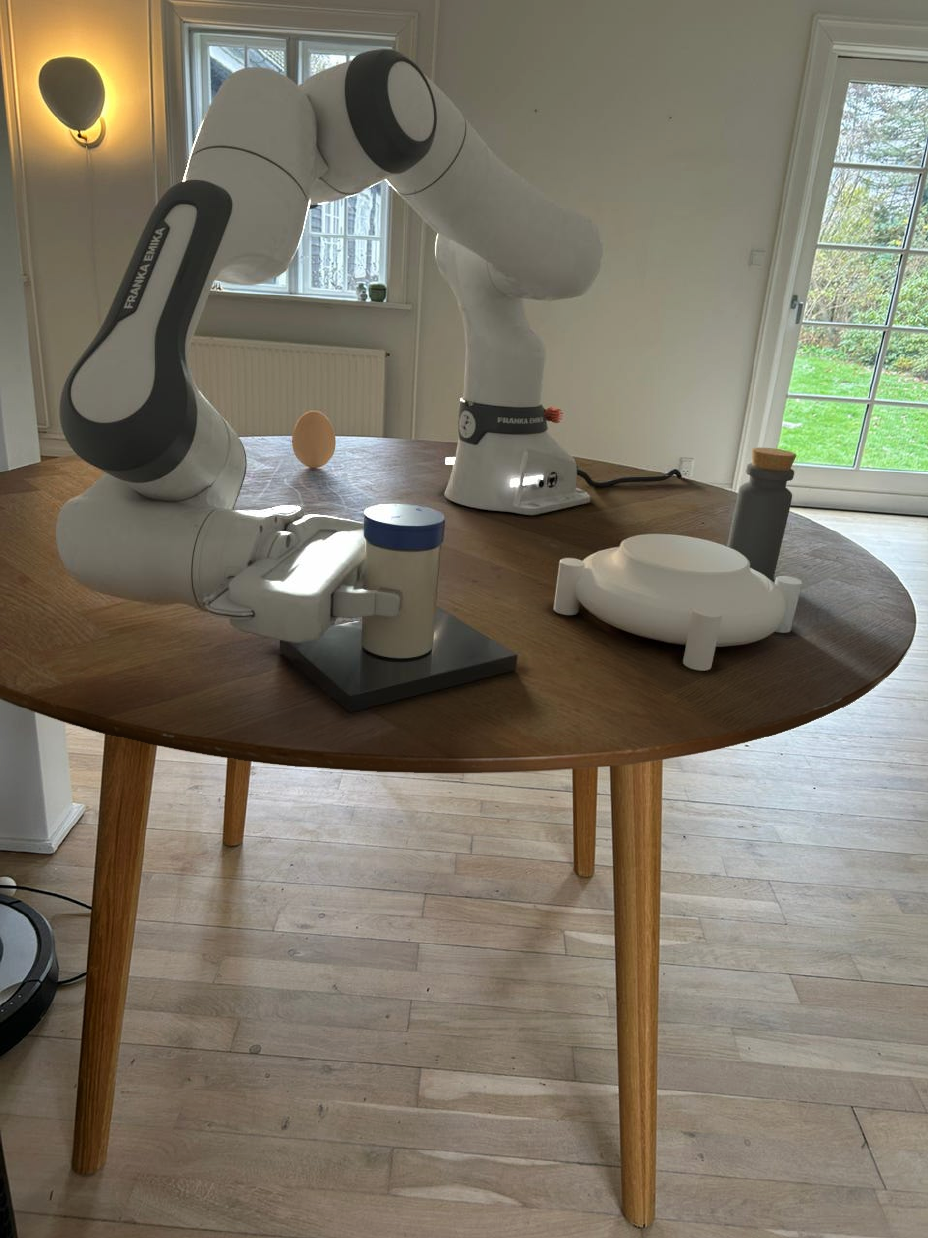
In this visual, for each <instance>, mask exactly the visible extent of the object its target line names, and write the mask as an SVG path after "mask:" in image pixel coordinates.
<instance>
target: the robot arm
mask: <svg viewBox="0 0 928 1238" xmlns="http://www.w3.org/2000/svg"><path fill="white" fill-rule="evenodd" d="M383 181H386V182H387V183H388V185H389V186H391V187H392V189H393V190H394V191H395V192H396V193H397V194H398V195H399V196H400V197H401V198H402V199H403V200H404V201H405V203H407V204H408V205H409V206H410V207H411V208H412V209H413V211H414V212H416V214H417V215H418V216H419V217H420V218H421V219H422V220H423V221H424V222H425V223H426V224H427V225H428V227H430V228H431V229H432V230H433V231H434V232H435V233H437V235H436V238H435V245H434V257H435V263H436V267H437V269H438V271H439V273H440V275H441V276H442V278H443V279H444V280H445V281H446V282H447V283H448V285H449V287H450V289H451V290H452V292H453V294H454V296H455V299H456V302H457V305H458V308H459V312H460V316H461V320H462V325H463V330H464V340H465V359H464V360H465V361H464V377H463V394H462V397H461V398H460V399H459V405H458V414H457V415H458V416H457V431H458V432H457V433H458V438H457V439H458V440H457V445H456V452H455V456H452V457H451V456H449V457H445V465H452V469H451V473H450V476H449V479H448V483H447V485H446V488H445V491H444V493H443V494H444V495H443V496H444V497H445V498H446V499H447V500H449V501H451V502H453V503H456V504H458V505H462V506H465V507H469V508H474V509H479V510H484V511H485V510H487V511H493V512H495V511H496V512H497V511H498V512H507V513H514V514H519V515H525V516H536V515H540V514H546V513H549V512H553V511H558V510H562V509H567V508H571V507H577V506H580V505H585V504H589V503H591V495H590V494H589V493H588V492H587V491H585V490H583V489H581V488H579V487H577V484H578V483H577V482H578V479H577V478H578V476H579V477H581V478H583V479H584V481H585V483H586V484H587V485H588V486H590V487H593V488H597V489H599V488H605V487H611V486H614V485H618V484H625V483H648V482H649V483H651V482H652V483H653V482H662V481H665V480H668V479H670V478H671V477H673V476H674V475H675V477H676V478H679V479H683V476H682V473H681V471H679V469H676V468H673V469H671V470H669V471H668V472H666V473H665V474H662V475H661V474H660V475H649V476H647V475H646V476H645V475H644V476H643V475H641V476H640V475H639V476H623V477H621V476H620V477H617V478H614V479H610V480H606V481H594V480H593V479H592V478H591V477H590V475H589V474H588V473H587V472H585V471H583V470H581V469H579V466H578V465H577V463H576V460H575V458H574V457H573V456H572V454H570V452H568V451H567V450H566V449H565V448H564V447H563V445H561V444H560V443H559V442H558V441H557V439H556V438H554V436H553V435H551V433H550V432H549V431H548V430H549V427H548V422H552V423H554V424H559V423H560V422H561V420H562V419H563V417H564V415H563V412H562V409H561V408H554V407H552V406H549V407H547V408H545V407H544V406H543V404H542V396H543V388H544V378H545V371H546V370H545V369H546V359H547V351H546V350H547V349H546V346H545V343H544V342H543V340H542V338H541V337H540V336H539V335H538V333H536V332H535V331H534V329H532V326H531V325H530V323H529V321H528V318H527V315H526V311H525V303H524V300H535V301H544V302H552V301H559V300H560V301H561V300H566V299H571V298H577V297H581V296H583V295H585V294H586V293H587V292H588V291H589V290H590V289H591V288H592V287H593V286H594V284H595V282H596V281H597V279H598V277H599V275H600V273H601V269H602V265H603V260H604V244H603V240H602V235H601V232H600V230H599V228H598V225H596V223H595V221H593V219H591V218H590V217H588V216H586V215H583V214H581V213H579V212H577V211H574V210H572V209H570V208H568V207H566V206H564V205H562V204H560V203H559V202H557V201H556V200H554V199H552V198H551V197H550V196H548V195H547V194H546V193H544V192H543V191H541V190H540V189H538V188H537V187H536V186H534V185H533V184H531V183H530V182H529V181H527V180H526V179H525V178H523V177H522V176H521V175H519V174H518V173H516V172H515V171H514V170H513V169H512V168H510V167H509V166H508V165H507V164H505V163H504V161H502V160H501V159H500V158H499V157H498V155H496V154H495V153H494V151H493V150H492V149H491V147H490V146H489V145H488V144H487V143H486V142H485V140H484V139H483V138H482V137H481V136H480V134H479V133H478V132H477V131H476V129H475V128H474V127H473V126H472V124H471V123H470V122H469V121H468V119H467V118H466V117H465V116H464V115H463V114H462V112H461V110H460V109H458V107H457V106H456V105H455V104H454V102H453V101H452V100H451V99H450V98H449V96H447V94H445V93H444V92H443V90H442V89H441V88H440V87H439V86H438V85H436V83H435V82H434V81H432V79H431V78H429V77H428V76H427V75H426V74H424V73H423V71H422V70H421V68H420V67H419V66H418V65H417V64H416V63H415V62H414V61H413V60H411V59H410V58H409V57H407V56H406V55H404V54H402V52H399V51H398V50H395V49H391V48H390V49H389V48H387V49H386V48H381V49H380V48H379V49H373V50H368V51H364V52H361V53H359V54H357V55H355V56H354V57H353V58H352V59H351V60H347V61H345V62H342V63H339V64H336V65H333V66H330V67H329V68H328V67H327V68H325V69H323V70H321V71H319V72H317V73H315V74H313V75H310V76H309V77H308V78H307V79H306V80H304V81H303V82H302V83H300V84H299V85H298V84H297V83H296V82H294V80H292V79H291V78H289V76H286V75H285V74H283V73H281V72H279V71H276V70H274V69H271V68H268V67H262V66H251V67H243V68H241V69H239V70H235V71H234V72H233V73H231V74H229V75H228V76H227V77H226V78H225V79H224V80H223V82H222V83H221V85H220V87H219V89H218V90H217V91H216V93H215V96H214V97H213V99H212V101H211V103H210V105H209V107H208V109H207V111H206V113H205V115H204V117H203V120H202V121H201V124H200V127H199V129H198V132H197V134H196V138H195V140H194V142H193V146H192V149H191V153H190V156H189V159H188V163H187V167H186V170H185V173H184V176H183V180H182V181H180V182H178V183H176V184H174V185H173V186H171V187H170V188H168V189H167V190H166V191H165V193H164V194H163V195H162V196H161V198H160V199H159V200H158V202H157V203H156V205H155V207H154V208H153V210H152V212H151V214H150V216H149V218H148V220H147V222H146V224H145V227H144V229H143V231H142V233H141V235H140V237H139V240H138V242H137V244H136V247H135V249H134V250H133V254H132V256H131V258H130V261H129V263H128V265H127V268H126V270H125V272H124V275H123V277H122V279H121V282H120V284H119V287H118V288H117V291H116V294H115V296H114V298H113V301H112V303H111V305H110V307H109V309H108V312H107V315H106V317H105V318H104V321H103V323H102V325H101V327H100V328H99V330H98V332H97V333H96V335H95V337H94V338H93V339H92V341H91V343H89V345H88V346H87V348H86V349H85V350H84V351H83V353H82V354H81V356H80V357H79V359H78V360H77V361H76V362H75V364H74V366H73V367H72V369H71V370H70V372H69V374H68V376H67V377H66V379H65V382H64V384H63V387H62V390H61V394H60V399H59V409H58V410H59V421H60V428H61V430H62V433H63V436H64V438H65V440H66V442H67V444H68V445H69V447H70V448H71V449H72V451H73V452H74V454H76V455H77V456H78V457H79V458H81V460H83V461H84V462H85V463H87V464H88V465H91V466H93V467H94V468H96V469H97V470H100V471H102V472H104V474H103V475H102V476H100V478H99V479H98V480H96V482H95V483H93V485H91V486H90V487H88V488H87V489H86V490H85V491H84V492H82V493H81V494H79V495H77V496H74V497H72V498H70V499H69V500H67V501H66V502H64V504H63V505H62V506H61V508H60V510H59V513H58V514H57V519H56V525H55V544H56V548H57V549H56V550H57V552H58V556H59V559H60V562H61V563H62V565H63V567H64V569H65V570H66V572H67V573H68V575H70V577H71V578H72V579H73V580H74V581H76V582H77V583H78V584H79V585H81V586H83V587H85V588H87V589H89V590H90V591H94V592H96V593H100V594H103V595H105V596H110V597H114V598H119V599H123V600H128V601H133V602H138V603H144V604H151V605H159V606H165V605H167V606H168V605H173V604H174V605H175V604H180V605H186V606H189V607H192V608H194V609H195V610H198V611H200V612H204V613H209V614H210V616H212V617H216V618H222V619H228V620H229V623H230V625H231V626H232V627H233V628H235V629H237V630H239V631H242V632H245V633H248V634H253V635H256V636H260V637H264V638H269V639H274V640H277V641H278V640H279V641H280V640H282V641H287V642H292V643H309V642H315V641H318V640H319V639H320V638H321V637H322V635H323V634H324V633H325V632H326V631H327V630H328V628H329V627H330V626H333V624H334V623H335V621H336V620H337V619H338V618H345V619H356V618H362V617H365V616H373V615H380V616H388V617H395V616H396V615H397V614H398V612H399V611H400V609H401V608H402V598H403V594H402V592H401V591H400V590H397V589H389V588H383V587H381V588H380V589H379V590H363V582H364V559H365V538H364V535H363V533H364V522H363V521H356V520H353V519H347V518H340V517H334V516H331V515H321V514H307V515H306V514H305V515H304V513H305V512H304V508H303V507H300V506H298V505H297V506H296V505H290V504H289V505H286V504H285V505H284V504H283V505H279V506H274V507H272V508H271V507H270V508H265V509H261V510H256V509H255V510H254V509H243V510H242V509H241V510H240V509H235V506H236V504H237V500H238V498H239V495H240V492H241V490H242V487H243V484H244V481H245V478H246V473H247V466H248V463H247V454H246V450H245V447H244V444H243V442H242V440H241V438H240V436H239V435H238V434H237V432H236V431H235V429H233V427H232V426H231V425H230V424H229V422H228V421H227V420H226V419H225V418H224V416H222V414H221V413H220V412H219V411H218V410H217V409H216V408H215V407H214V406H213V405H212V404H211V403H210V402H209V400H208V399H207V398H206V397H205V396H204V395H203V394H202V392H201V391H200V390H199V387H198V386H197V384H196V382H195V379H194V376H193V372H192V368H191V365H190V347H191V344H192V341H193V338H194V336H195V333H196V331H197V328H198V326H199V322H200V319H201V317H202V314H203V311H204V309H205V307H206V304H207V301H208V298H209V295H210V292H211V291H212V287H213V285H214V282H215V281H217V282H220V283H225V284H231V285H238V286H255V285H260V284H264V283H267V282H270V281H273V280H274V279H276V278H278V277H280V276H281V275H283V274H284V273H285V272H286V271H287V270H288V269H289V267H290V265H291V263H292V261H293V260H294V257H295V255H296V253H297V251H298V249H299V246H300V244H301V240H302V237H303V233H304V229H305V225H306V221H307V217H308V212H309V210H313V209H316V208H318V207H320V206H321V205H323V204H328V203H333V202H336V201H341V200H344V199H347V198H350V197H353V196H356V195H359V194H360V193H362V192H364V191H365V190H366V189H369V188H371V187H373V186H375V185H377V184H379V183H382V182H383ZM665 475H669V476H665Z"/></svg>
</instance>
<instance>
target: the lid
mask: <svg viewBox="0 0 928 1238" xmlns="http://www.w3.org/2000/svg"><path fill="white" fill-rule="evenodd" d="M363 523H364V533H363V535H364V538H365V539H366V540H367V541H369V542H371V543H373V544H376V545H379V546H383V547H387V548H393V549H402V550H421V549H429V548H433V547H436V546H439V545H440V544H441V545H442V544H443V542H444V538H445V526H446V516H445V515H444V514H443V512H441V511H439V510H437V509H434V508H430V507H428V506H423V505H417V504H408V503H383V504H376V505H373V506H370V507H367V508H366V509H365V510H364V514H363Z"/></svg>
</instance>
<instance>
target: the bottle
mask: <svg viewBox="0 0 928 1238" xmlns="http://www.w3.org/2000/svg"><path fill="white" fill-rule="evenodd" d="M751 456H752V457H751V463H748V464H747V465H746V469H745V473H746V474H747V475H749V481H748V482H745V483H743V484H741V485H740V486H739V488H738V491H737V497H736V502H735V506H734V510H733V515H732V519H731V525H730V529H729V535H728V540H727V545H726V546H727V547H729V548H732V549H734V550H736V551H738V552H739V553H741V554H742V555H743V556H745V557H746V558H747V559H748V561H749V562H750V568H752V569H754V570H756V571H757V572H759V573H761V574H763V575H765V576H766V577H767V578H768V579H770V580H771V581H772V582H774V579H775V578H774V577H775V573H776V570H777V566H778V561H779V557H780V553H781V548H782V543H783V539H784V536H785V532H786V531H785V530H786V528H787V522H788V519H789V513H790V509H791V505H792V500H793V493H792V492H791V491H790V489H788V488H787V484H788V483H787V482H791V481H792V480H794V476H795V470H794V469H792V467H793V464H794V463H795V460H796V458H797V454H796V453H794V452H793V451H790V450H786V449H780V448H774V447H773V448H772V447H753V448H752V449H751Z"/></svg>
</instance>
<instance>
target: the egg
mask: <svg viewBox="0 0 928 1238" xmlns="http://www.w3.org/2000/svg"><path fill="white" fill-rule="evenodd" d="M291 435H292V436H291V447H292V450H293V454H294V456H295V457H296V458H297V460H298V461H299V462H300V463H301V464H302V465H303V466H305V467H307V468H309V469H319V468H322V467H324V466H325V465H326V464H327V463H329V462H330V461H331V459H332V458H333V455H334V454H335V450H336V433H335V430H334V428H333V425H332V423H331V421H330V419H329V418H328V417H327V416H326V415H325V414H324V413H322V412H321V411H319V410H309V411H307V412H305V413H304V414H302V415H301V416H300V417H299V419H298V420H297V422H296V423H295V426H294V428H293V430H292V434H291Z"/></svg>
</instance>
